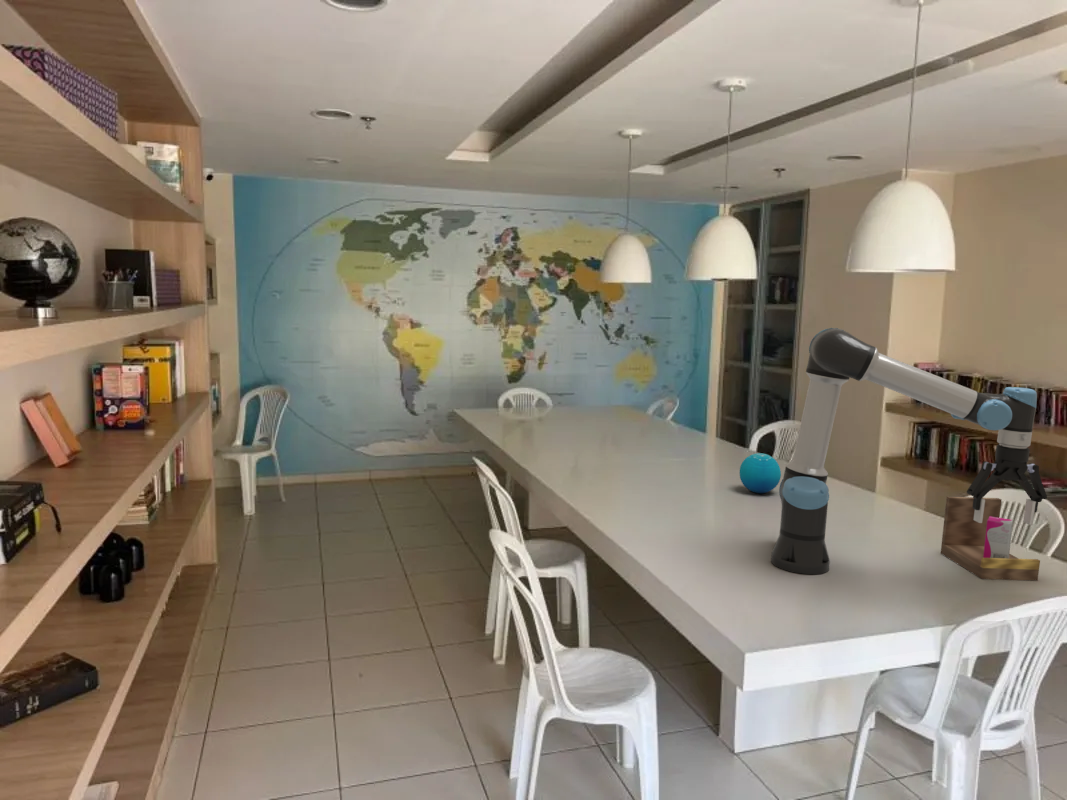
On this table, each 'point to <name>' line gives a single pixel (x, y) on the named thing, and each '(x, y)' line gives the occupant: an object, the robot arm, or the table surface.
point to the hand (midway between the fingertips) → (1002, 522)
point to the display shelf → (979, 542)
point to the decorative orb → (760, 473)
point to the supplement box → (997, 538)
